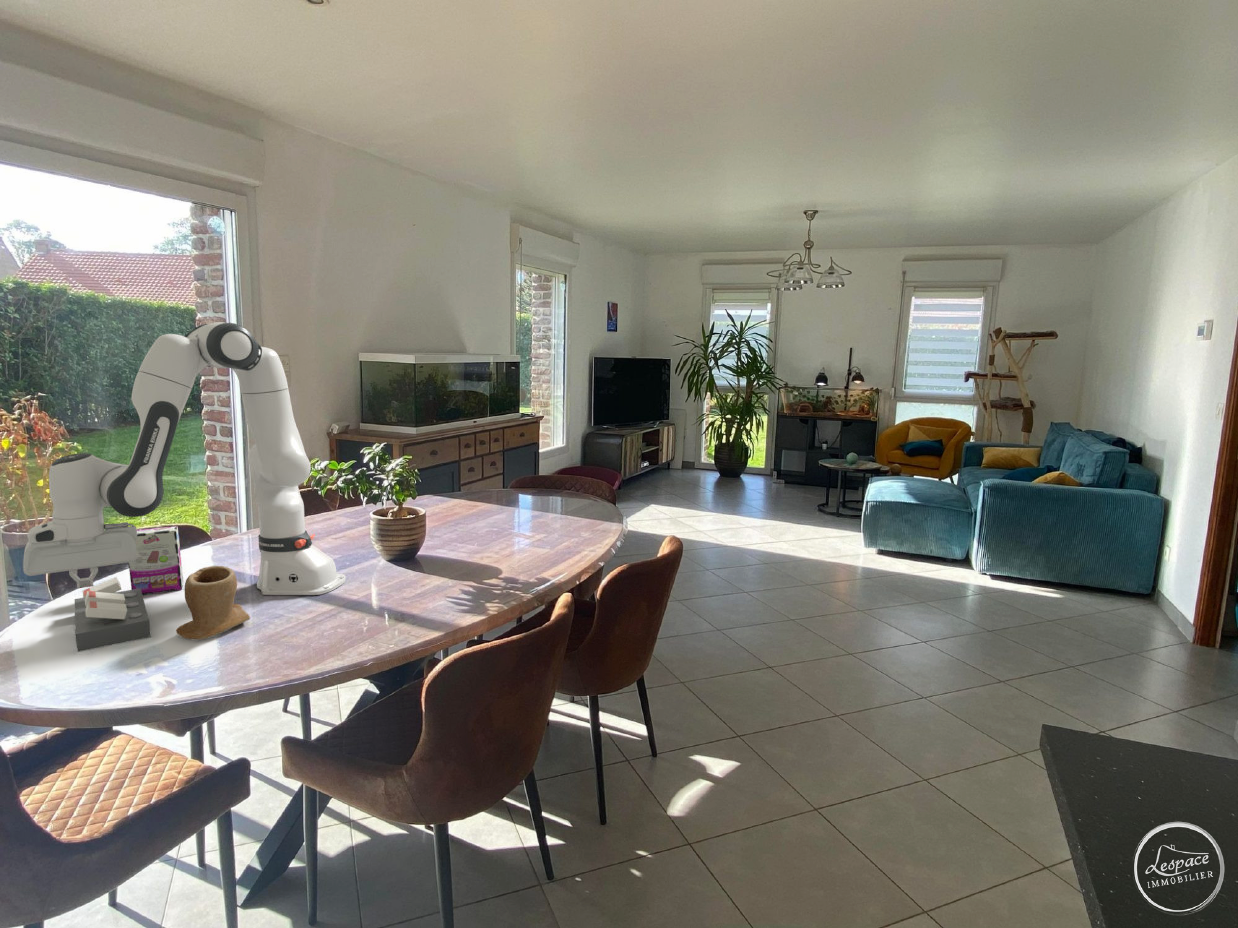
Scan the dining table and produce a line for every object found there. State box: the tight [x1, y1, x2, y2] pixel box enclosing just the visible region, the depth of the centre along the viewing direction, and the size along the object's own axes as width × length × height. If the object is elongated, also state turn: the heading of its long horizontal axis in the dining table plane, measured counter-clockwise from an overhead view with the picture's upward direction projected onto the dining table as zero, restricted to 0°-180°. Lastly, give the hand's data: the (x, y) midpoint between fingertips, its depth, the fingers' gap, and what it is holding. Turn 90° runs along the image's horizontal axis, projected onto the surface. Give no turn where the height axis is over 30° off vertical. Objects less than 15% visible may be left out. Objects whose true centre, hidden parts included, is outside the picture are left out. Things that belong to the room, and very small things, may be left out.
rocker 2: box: [85, 591, 125, 606], centre depth 159 cm, size 7×4×2 cm, turn 128°
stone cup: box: [175, 565, 251, 641], centre depth 158 cm, size 15×12×15 cm
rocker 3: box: [85, 601, 127, 619], centre depth 153 cm, size 7×4×2 cm, turn 128°
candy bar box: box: [128, 525, 185, 596], centre depth 181 cm, size 11×5×16 cm, turn 117°
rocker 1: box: [82, 576, 122, 600], centre depth 164 cm, size 7×4×2 cm, turn 127°
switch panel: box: [74, 588, 152, 652], centre depth 160 cm, size 13×24×5 cm, turn 38°
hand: (85, 586), depth 156 cm, fingers closed
